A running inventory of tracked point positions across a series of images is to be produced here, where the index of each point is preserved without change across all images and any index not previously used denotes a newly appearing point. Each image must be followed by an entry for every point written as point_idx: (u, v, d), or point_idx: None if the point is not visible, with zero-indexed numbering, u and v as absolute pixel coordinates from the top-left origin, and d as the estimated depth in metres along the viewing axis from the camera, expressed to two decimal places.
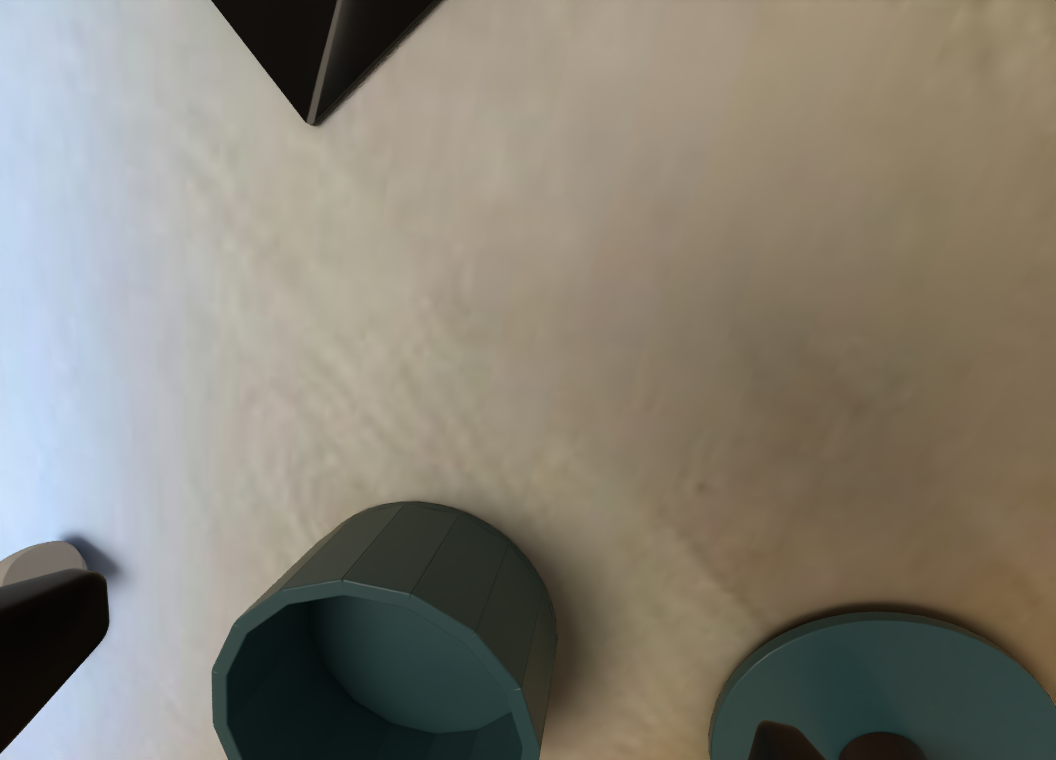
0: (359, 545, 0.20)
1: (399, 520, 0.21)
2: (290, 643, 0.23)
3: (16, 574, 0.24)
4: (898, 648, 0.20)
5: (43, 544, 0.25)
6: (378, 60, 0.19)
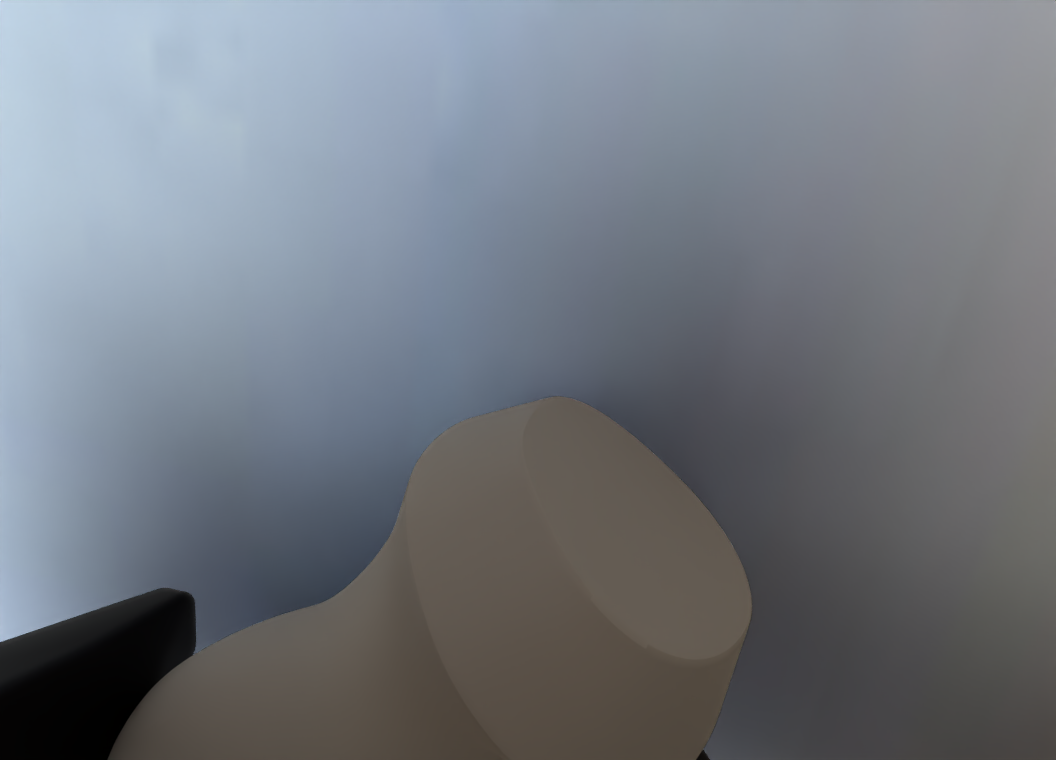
0: None
1: None
2: None
3: (578, 514, 0.04)
4: None
5: (544, 402, 0.06)
6: None
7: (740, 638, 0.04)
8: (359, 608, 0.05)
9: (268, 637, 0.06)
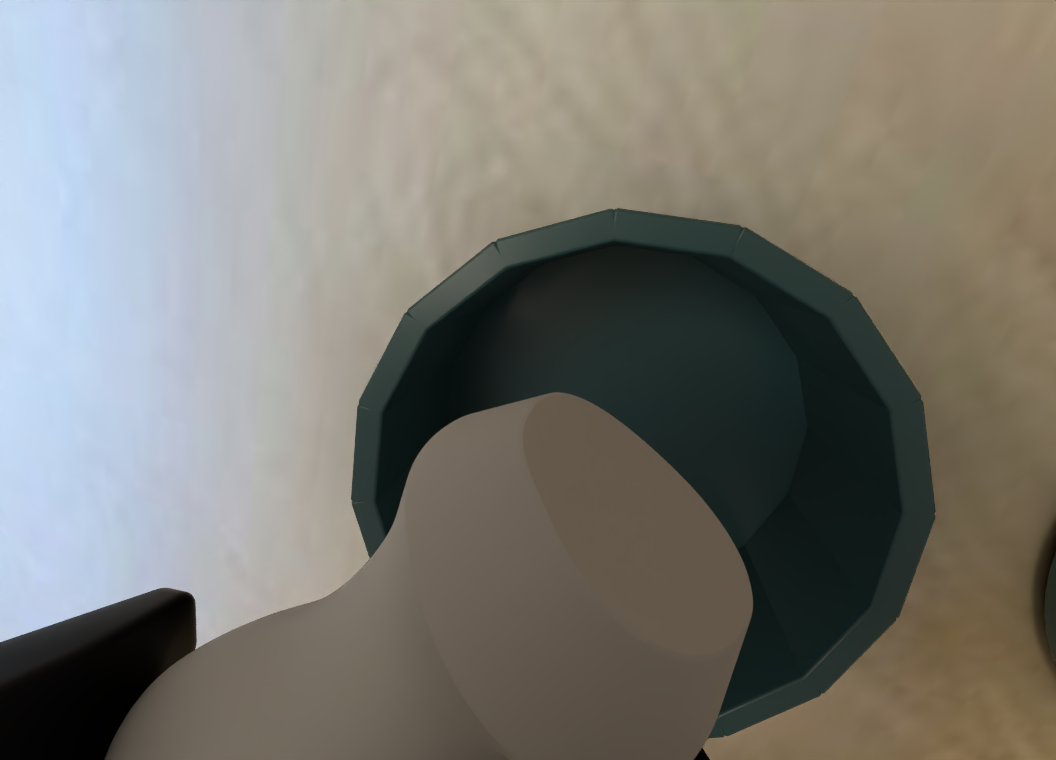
0: None
1: None
2: (433, 433, 0.16)
3: (578, 509, 0.04)
4: None
5: (544, 398, 0.06)
6: None
7: (741, 633, 0.04)
8: (358, 603, 0.05)
9: (267, 633, 0.06)
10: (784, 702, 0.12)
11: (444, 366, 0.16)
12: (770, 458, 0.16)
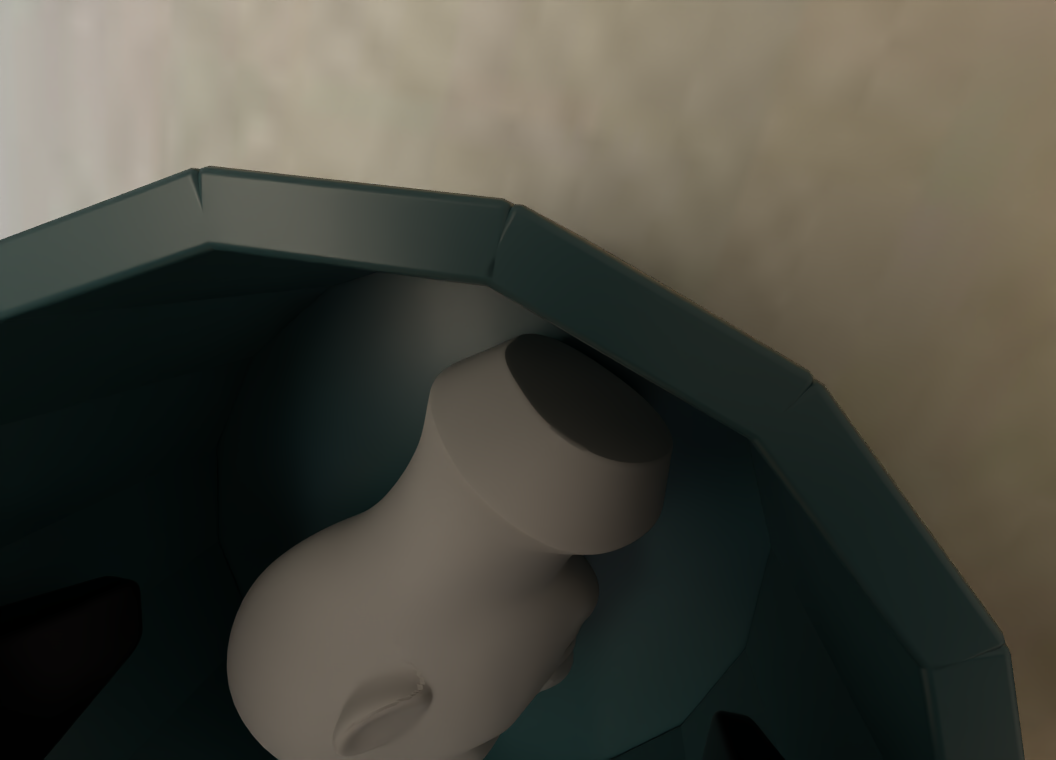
0: None
1: None
2: (160, 567, 0.10)
3: (543, 390, 0.07)
4: None
5: (522, 336, 0.08)
6: None
7: (656, 459, 0.06)
8: (405, 485, 0.07)
9: (339, 528, 0.08)
10: None
11: (164, 461, 0.09)
12: (712, 593, 0.10)
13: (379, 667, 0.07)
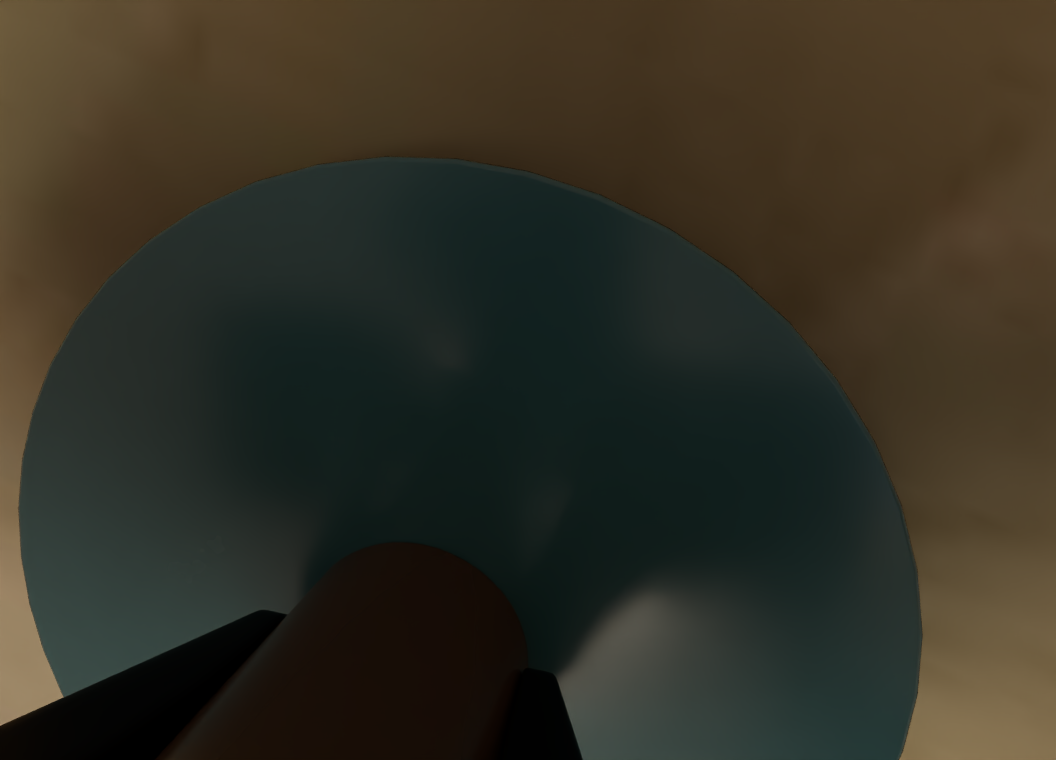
0: None
1: None
2: None
3: None
4: (90, 614, 0.08)
5: None
6: None
7: None
8: None
9: None
10: None
11: None
12: None
13: None
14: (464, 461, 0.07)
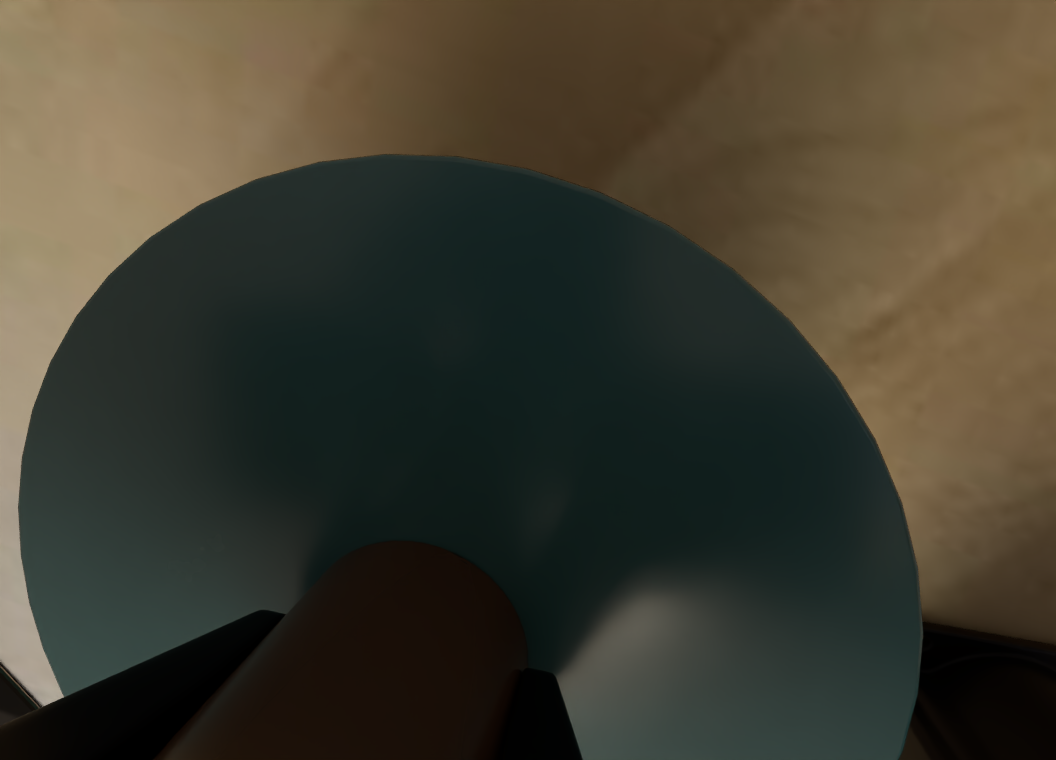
0: None
1: None
2: None
3: None
4: (89, 613, 0.08)
5: None
6: None
7: None
8: None
9: None
10: None
11: None
12: None
13: None
14: (464, 460, 0.07)
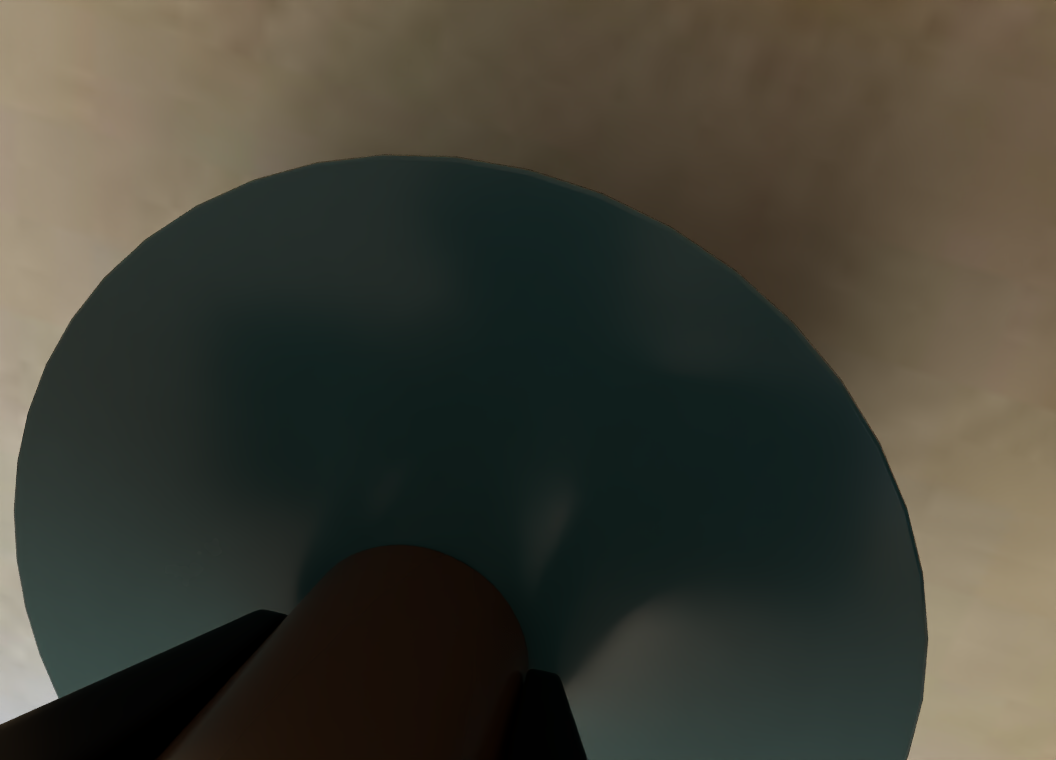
0: None
1: None
2: None
3: None
4: (86, 618, 0.08)
5: None
6: None
7: None
8: None
9: None
10: None
11: None
12: None
13: None
14: (463, 463, 0.07)
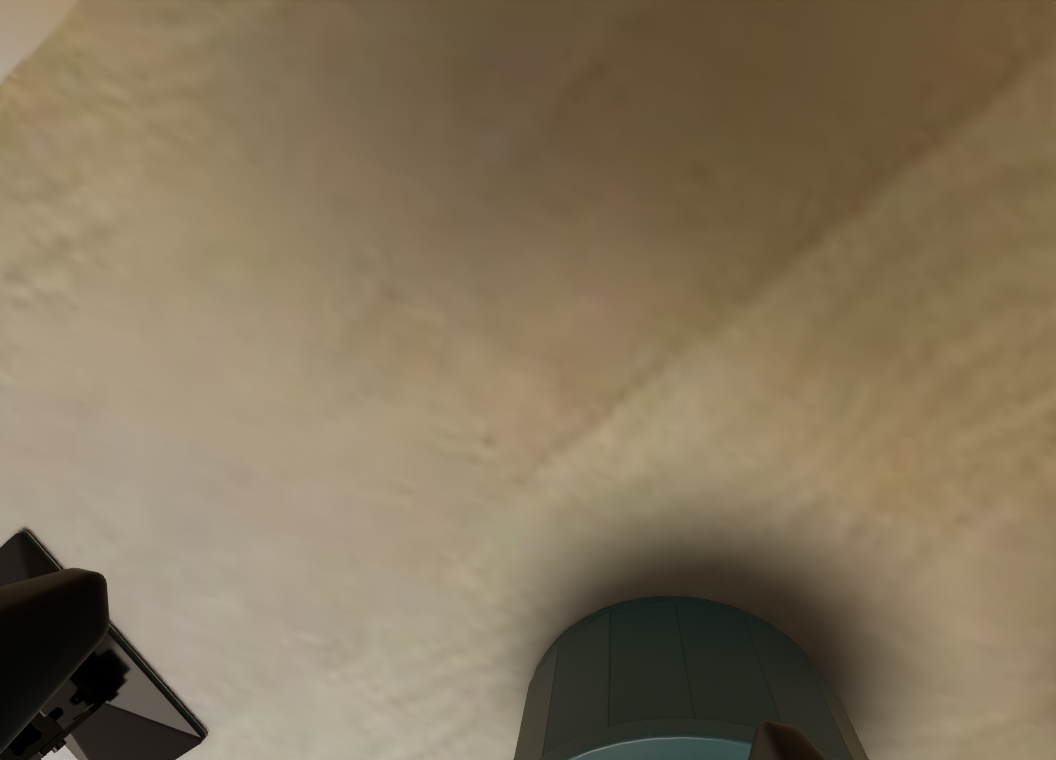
0: None
1: None
2: None
3: None
4: None
5: None
6: (156, 680, 0.25)
7: None
8: None
9: None
10: None
11: None
12: None
13: None
14: None
